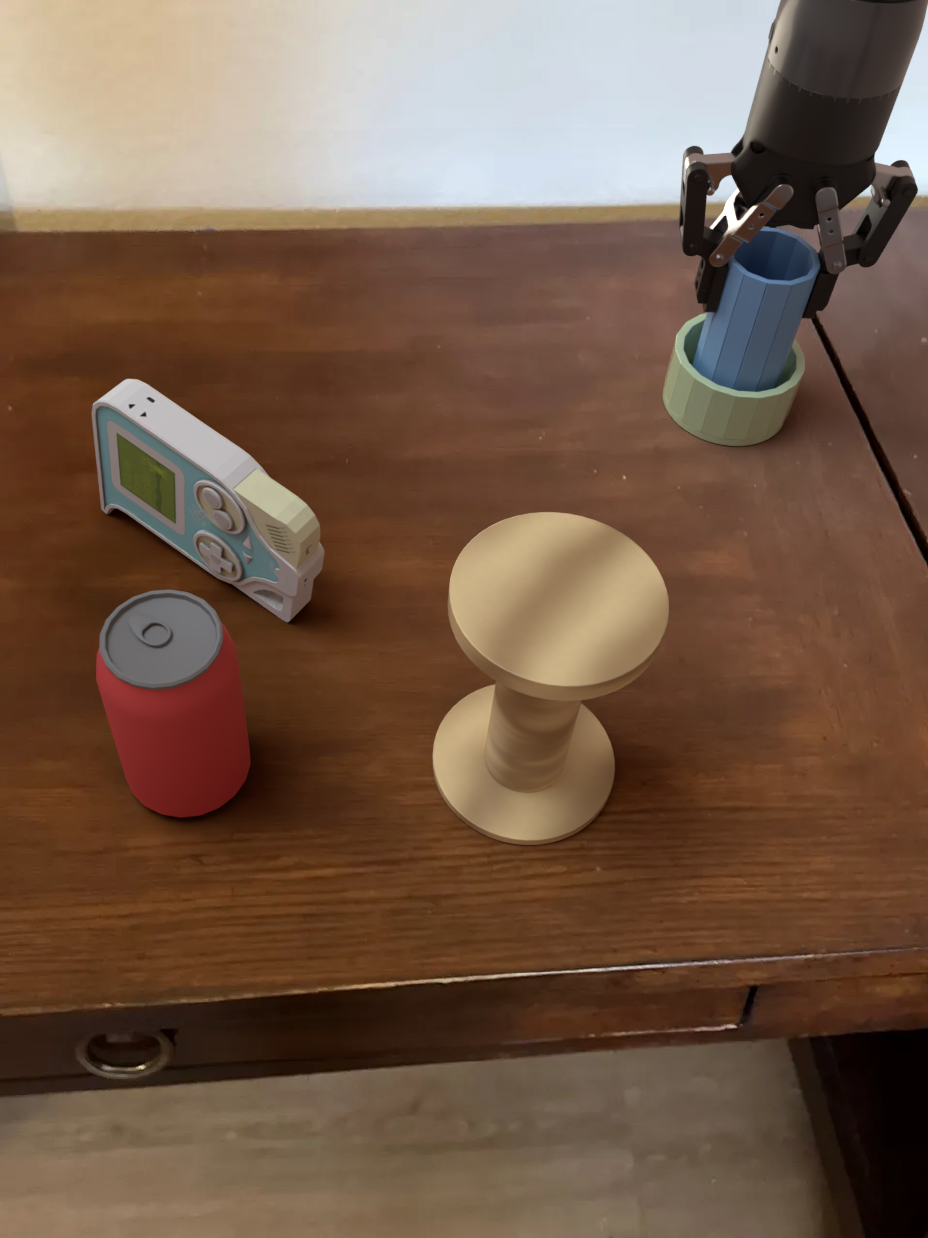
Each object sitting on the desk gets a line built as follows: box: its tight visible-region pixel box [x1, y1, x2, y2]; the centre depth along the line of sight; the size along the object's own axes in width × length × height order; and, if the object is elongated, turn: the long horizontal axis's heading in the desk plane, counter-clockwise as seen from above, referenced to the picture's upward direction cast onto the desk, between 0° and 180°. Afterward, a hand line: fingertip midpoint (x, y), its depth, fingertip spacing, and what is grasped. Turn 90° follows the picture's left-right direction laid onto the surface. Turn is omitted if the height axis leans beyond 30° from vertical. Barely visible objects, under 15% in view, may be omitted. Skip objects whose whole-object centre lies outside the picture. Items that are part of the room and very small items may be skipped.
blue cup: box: [692, 226, 820, 392], centre depth 80 cm, size 6×6×10 cm
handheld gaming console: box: [91, 378, 325, 623], centre depth 70 cm, size 11×3×15 cm
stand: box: [431, 511, 670, 846], centre depth 61 cm, size 10×10×15 cm
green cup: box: [661, 312, 806, 447], centre depth 84 cm, size 9×9×4 cm
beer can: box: [95, 589, 252, 819], centre depth 60 cm, size 7×7×12 cm
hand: (756, 306), depth 79 cm, fingers closed on blue cup, 6 cm apart
